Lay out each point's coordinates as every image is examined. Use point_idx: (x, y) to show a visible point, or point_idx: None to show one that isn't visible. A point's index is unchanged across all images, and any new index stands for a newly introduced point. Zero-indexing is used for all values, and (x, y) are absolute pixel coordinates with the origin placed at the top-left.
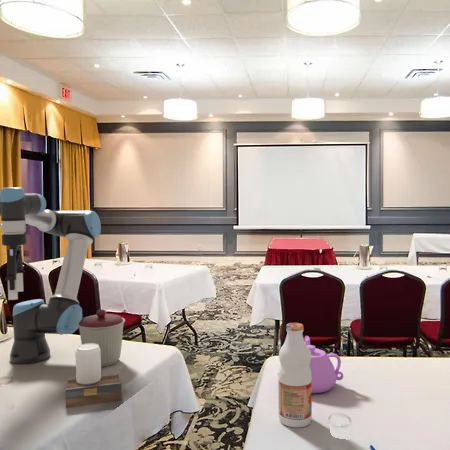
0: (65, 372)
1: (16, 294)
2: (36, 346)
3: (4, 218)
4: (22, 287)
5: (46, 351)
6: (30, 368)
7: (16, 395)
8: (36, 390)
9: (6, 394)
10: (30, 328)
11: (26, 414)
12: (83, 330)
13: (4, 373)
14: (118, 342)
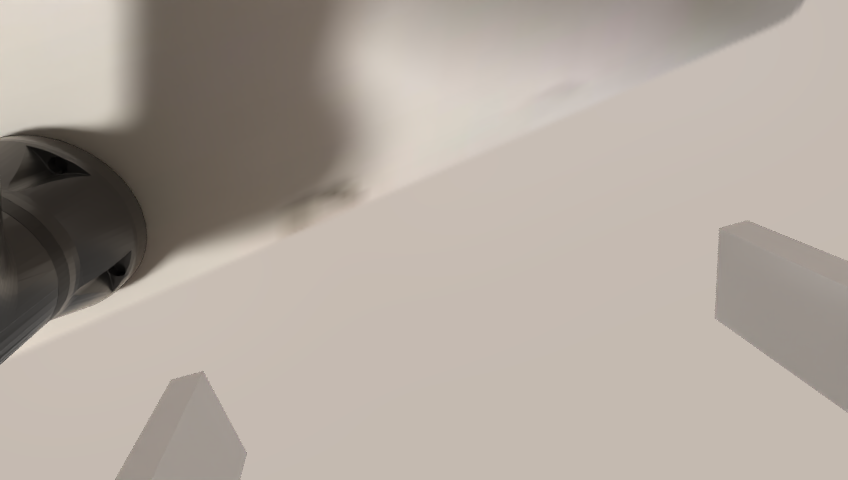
0: None
1: (810, 254)
2: (54, 193)
3: None
4: (186, 421)
5: (24, 147)
6: (191, 170)
7: (469, 117)
8: (431, 54)
9: (456, 157)
10: (5, 255)
11: (628, 18)
12: None
13: (256, 250)
14: None
